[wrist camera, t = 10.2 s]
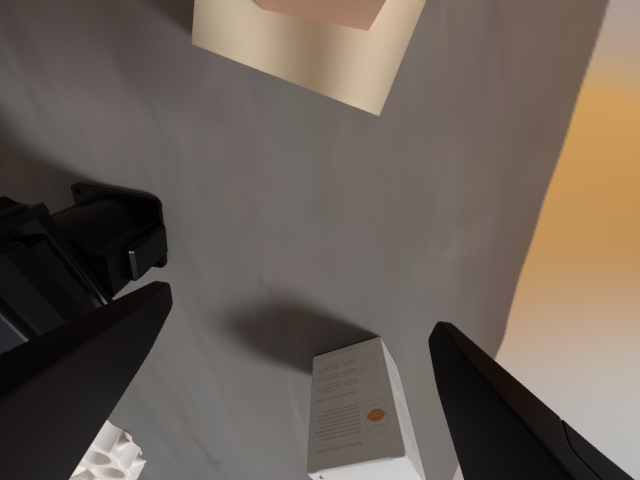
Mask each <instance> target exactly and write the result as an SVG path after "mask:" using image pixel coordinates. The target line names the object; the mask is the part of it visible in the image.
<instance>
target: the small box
mask: <svg viewBox="0 0 640 480" xmlns="http://www.w3.org/2000/svg"><path fill="white" fill-rule="evenodd" d="M307 474H308V475H309V476H310V477H311V478H312V479H313V480H426V479H425V475H424V471H423V467H422V463H421V460H420V456H419V452H418V448H417V444H416V440H415V436H414V432H413V428H412V424H411V419H410V416H409V412H408V408H407V404H406V400H405V396H404V392H403V388H402V385H401V381H400V377H399V373H398V369H397V367H396V365H395V363H394V361H393V359H392V357H391V355H390V353H389V352H388V350H387V348H386V346H385V344H384V343H383V341H382V339H381V337H377V338H373V339H370V340H367V341H364V342H360V343H357V344H354V345H351V346H348V347H344V348H341V349H338V350H335V351H331V352H328V353H325V354H322V355H319V356H316V357H314V358H313V372H312V390H311V408H310V424H309V440H308V459H307Z"/></svg>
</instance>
